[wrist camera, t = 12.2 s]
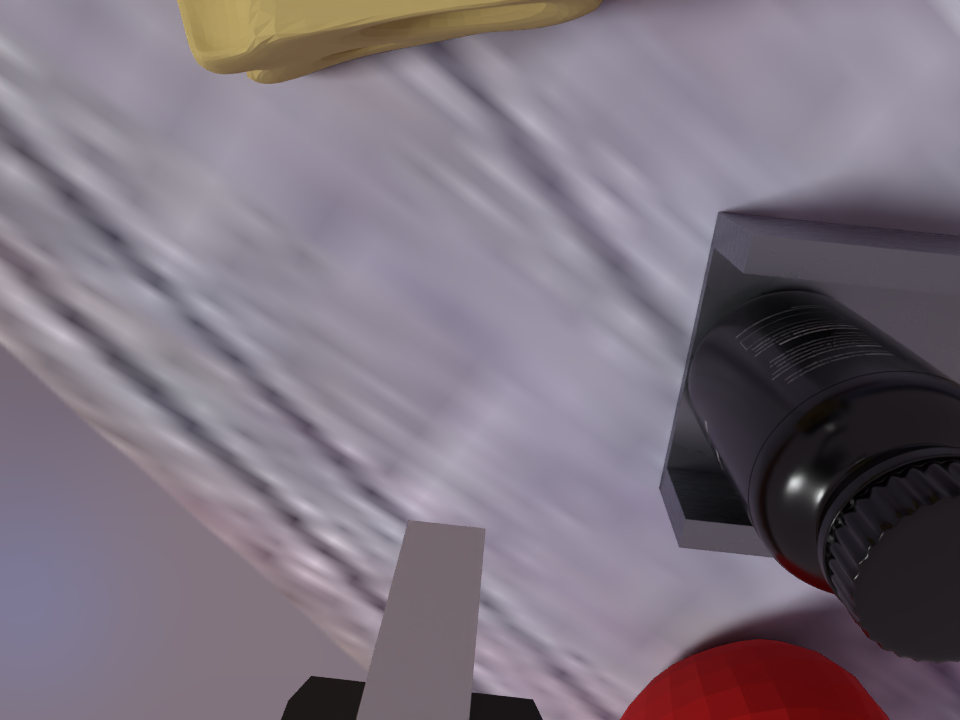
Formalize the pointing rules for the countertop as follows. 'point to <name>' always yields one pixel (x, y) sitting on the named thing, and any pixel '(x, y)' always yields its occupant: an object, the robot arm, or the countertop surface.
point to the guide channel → (817, 269)
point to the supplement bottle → (841, 460)
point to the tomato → (755, 687)
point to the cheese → (345, 29)
